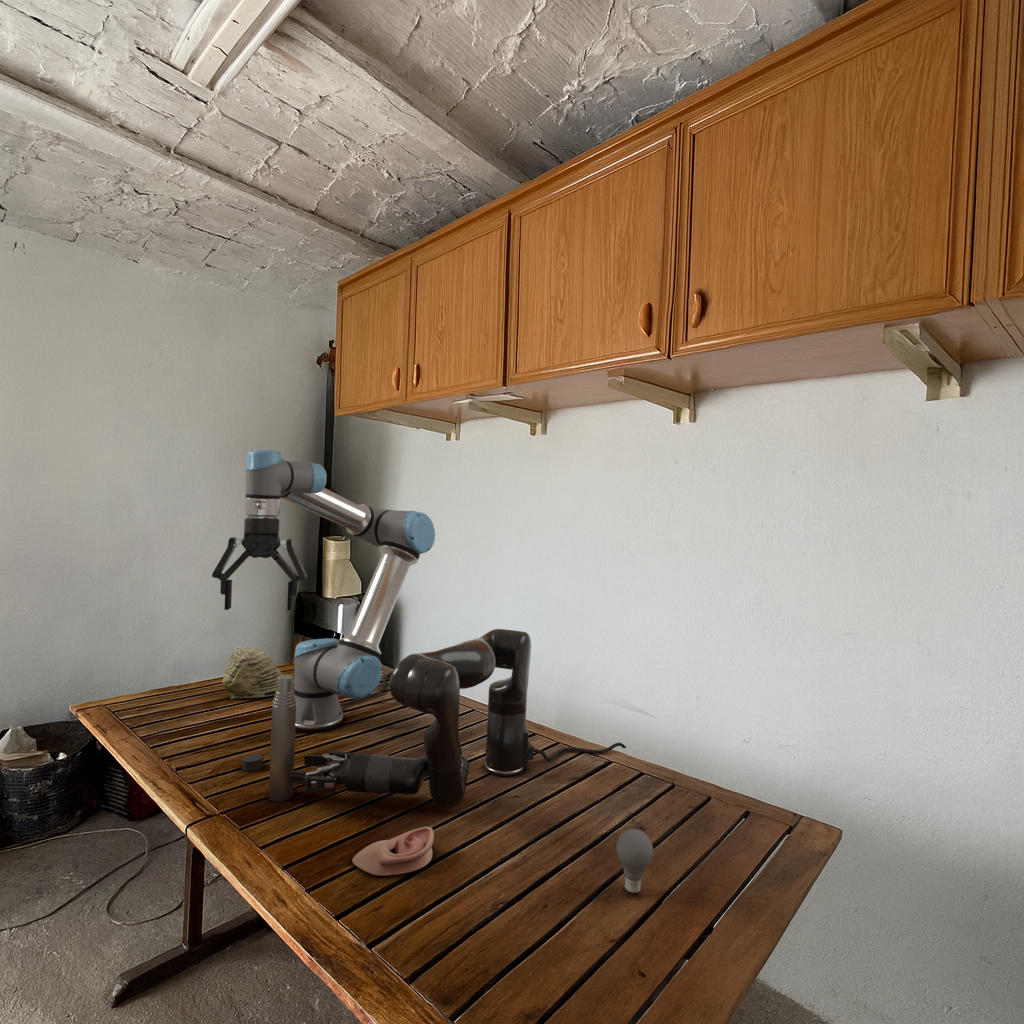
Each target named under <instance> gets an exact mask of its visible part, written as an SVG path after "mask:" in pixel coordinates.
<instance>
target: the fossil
mask: <svg viewBox="0 0 1024 1024" xmlns="http://www.w3.org/2000/svg"><path fill="white" fill-rule="evenodd" d="M280 675H283V673H282V672H281V669H279V668H278V667H277V665H276V663H275V662H274V660H273V659H272V658H271V657H270V656H269V655H268V654H267V653H266V652H265V650H264V649H263V648H260V647H258V648H251V647H247V646H246V647H245V646H238V647H237V648H236V649H235V650H233V651H232V653H231V656H230V657H229V659H228V660H227V663H226V666H225V668H224V671H223V675H222V676H223V677H222V685H223V687H224V688H225V690H226V691H228V693H229V698H230V699H250V698H264V697H271V696H275V694H276V691H277V677H278V676H280Z"/></svg>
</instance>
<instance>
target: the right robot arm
mask: <svg viewBox="0 0 1024 1024" xmlns="http://www.w3.org/2000/svg"><path fill="white" fill-rule="evenodd" d="M531 658H532V639H531V636H530V634H529V633H528V632H527V631H521V630H514V629H507V628H494V629H491V630H490V631H488V632H486V633H484V634H482V635H481V636H479V637H477V638H476V637H475V638H474V639H469V640H465V641H462V642H460V643H457V644H454V645H452V646H448V647H444V648H440V649H439V650H434V651H427V652H415V653H411V654H409V655H406V656H405V657H404V658H403V659H401V661H399V662H398V663H397V664H396V666H395V668H394V669H393V670H392V671H393V673H392V675H390V678H389V683H388V684H389V692H390V695H391V696H392V698H393V699H394V700H395V701H396V702H397V703H398V704H400V705H402V706H403V707H404V706H405V707H406V708H410V709H412V710H415V711H418V712H420V713H423V714H427V715H432V716H433V717H435V720H434V721H433V722H431V724H430V725H429V726H428V727H427V729H426V731H425V733H424V738H423V749H424V754H425V756H420V757H401V756H399V757H398V756H391V755H387V754H378V753H377V754H375V753H361V752H348V751H338V750H329V751H328V753H324V754H312V753H311V754H308V753H307V754H305V756H304V759H303V760H304V761H303V764H304V766H307V767H318V768H316V770H312V771H301V770H294V771H290V772H289V773H288V782H289V783H293V784H301V785H304V791H307V792H327V793H328V792H329V793H333V792H335V789H336V785H342V784H343V785H344V786H345V790H346V791H347V792H348V793H349V792H352V793H363V794H364V793H365V794H376V795H377V794H378V795H384V794H385V795H386V794H395V795H407V796H408V795H411V796H412V795H416V794H418V793H419V792H420V790H421V788H422V786H423V784H424V782H425V780H426V779H428V783H429V784H428V788H429V793H430V796H431V799H432V800H433V801H434V802H435V804H437V805H438V806H439V807H441V808H445V809H450V808H451V809H452V808H455V807H457V806H458V805H460V804H461V803H462V802H463V800H464V798H465V795H466V791H467V784H468V777H469V769H470V764H469V760H468V759H467V757H465V755H463V750H462V745H461V740H460V735H459V732H460V731H459V721H460V720H459V719H460V701H461V700H460V698H461V695H460V694H461V690H465V689H470V688H473V687H476V686H478V685H480V684H482V683H484V682H485V681H487V680H488V679H489V678H490V677H491V676H492V675H493V673H494V672H495V669H496V668H497V669H503V670H509V671H511V676H509V677H506V678H503V679H499V680H498V679H497V680H495V681H493V682H491V683H490V684H489V687H488V696H487V697H488V700H487V701H488V702H487V723H486V724H487V725H486V745H485V751H484V753H485V762H484V768H485V770H486V771H487V772H489V773H490V774H493V775H496V776H502V777H509V776H510V777H511V776H516V775H519V774H522V773H523V772H527V771H528V761H533V760H534V758H535V757H534V756H535V755H534V754H535V753H537V754H539V755H541V756H542V758H543V759H544V760H546V761H549V762H550V761H553V760H554V759H556V758H557V757H558V756H559V755H561V754H562V753H565V752H580V753H582V752H583V753H588V754H605V753H607V752H610V751H612V750H614V749H615V748H616V747H621V748H622V749H627V746H626V745H625V744H624V743H623V742H615V743H613V744H611V745H610V746H608V747H606V748H603V749H590V748H582V747H572V746H571V747H563V748H560V749H559V750H557V751H556V752H555V753H554V754H553V755H551V756H548V755H547V754H546V752H545V751H543V750H542V749H538V748H535V746H534V745H533V744H532V743H531V742H529V733H530V732H529V730H528V729H527V728H526V727H527V726H526V725H527V703H528V702H527V701H528V687H529V682H530V681H529V680H530V666H531Z"/></svg>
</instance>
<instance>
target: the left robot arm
mask: <svg viewBox="0 0 1024 1024" xmlns="http://www.w3.org/2000/svg"><path fill="white" fill-rule="evenodd" d="M245 464H246V465H245V499H244V515H245V516H247V517H245V519H244V522H243V524H244V526H243V532H244V533H243V537H242V538H238V537H236V536H233V537H232V536H231V537H229V539H228V542H227V547H226V549H225V551H224V552H223V554H222V556H221V558H220V560H219V561H218V563H217V565H216V566H215V568H214V570H213V572H212V574H211V577H212V578H214V579H218V580H219V581H220V595H224V611H229V610H230V609H232V593H233V579H229V578H230V577H231V576H232V575H233V574H234V573H235V572H236V571H237V570H238V569H239V568H240V566H241V565H243V563H245V561H246V560H247V559H248V558H249V557H251V558H254V559H258V558H262V559H269V558H271V559H272V560H273V561H275V563H276V564H277V565H278V566H279V567H280V568H281V570H282V571H283V573H285V574H286V576H287V577H288V578H289V579H290V580H289V581H288V583H287V585H288V586H287V604H286V605H287V608H286V609H287V611H289V612H290V611H292V610H293V607H294V604H293V603H294V597H295V596H296V597H297V595H298V593H299V582H300V581H302V580H305V579H306V578H307V577H308V574H307V573H306V570H305V568H304V566H303V564H302V562H301V560H300V558H299V556H298V553H297V551H296V550H295V546H294V545H295V544H294V539H293V538H287V539H281V538H280V524H281V523H280V522H281V521H280V519H279V518H278V517H280V516H281V499H282V500H285V501H286V502H289V503H291V504H293V505H294V506H296V507H297V506H298V507H300V508H302V509H304V510H305V511H308V512H310V513H312V514H315V515H317V516H319V517H321V518H323V519H326V520H328V521H330V522H332V523H334V524H337V525H338V526H341V527H343V528H345V529H346V531H347V532H348V534H350V535H351V536H354V537H356V538H358V539H360V540H362V541H364V542H366V543H369V544H370V545H373V546H375V547H378V549H379V552H380V554H381V555H380V558H379V561H378V563H377V565H376V568H375V570H374V573H373V575H372V577H371V579H370V582H369V585H368V587H367V589H366V592H365V594H364V597H363V599H362V601H361V603H360V606H359V608H358V610H357V613H356V615H355V618H354V620H353V622H352V625H351V628H350V630H349V632H348V633H347V634H346V636H344V637H343V636H342V637H341V638H340V639H337V638H331V637H329V638H317V639H316V638H315V639H308V640H304V641H300V642H299V643H298V644H297V645H296V646H295V650H294V651H295V652H294V655H293V658H294V672H293V678H294V679H293V690H294V693H295V699H296V728H295V732H301V733H316V732H325V731H329V730H332V729H335V728H337V727H339V726H340V725H342V723H343V722H344V713H343V709H342V707H346V706H350V705H353V704H356V703H359V702H362V701H364V700H365V701H366V700H368V699H371V698H374V697H375V698H376V697H378V696H379V695H381V694H382V693H383V692H384V691H385V689H386V686H387V685H386V683H387V682H386V681H387V678H388V677H391V675H392V673H393V671H394V670H392V671H390V672H387V673H386V674H385V675H384V676H383V669H382V668H383V664H382V662H381V661H380V657H381V655H382V652H381V649H380V646H379V645H380V643H381V640H382V637H383V635H384V632H385V630H386V627H387V625H388V622H389V620H390V618H391V615H392V612H393V610H394V607H395V605H396V603H397V600H398V597H399V595H400V592H401V589H402V587H403V584H404V582H405V580H406V577H407V575H408V572H409V570H410V568H411V566H413V565H415V564H417V563H418V561H419V559H420V556H421V555H423V554H425V553H427V552H429V551H430V550H431V549H432V548H433V546H434V544H435V539H436V530H435V529H436V528H435V527H434V522H433V521H432V519H431V517H430V516H429V515H427V514H426V513H424V512H421V511H416V510H395V509H383V508H376V507H372V506H369V505H367V504H366V503H359V504H358V503H355V502H354V501H351V500H349V499H348V498H346V497H344V496H342V495H340V494H338V493H336V492H334V491H332V490H330V489H328V488H326V485H327V477H328V476H327V471H326V469H325V468H324V466H323V465H321V464H320V463H315V462H312V461H308V462H305V461H294V460H293V461H290V460H285V459H283V454H282V452H281V451H280V450H279V451H278V450H272V449H271V450H270V449H251V450H249V451H248V452H247V457H246V463H245ZM240 545H242V547H243V548H244V551H243V552H242V553H241V554H240V556H239V557H237V559H236V560H235V561H234V562H233V563H232V564H231V565H230V566H229V567H228V568H227V570H226V571H224V569H225V567H226V565H227V564H228V563H229V561H230V559H231V558H232V556H233V553H234V552H235V550H236V548H239V546H240ZM281 546H282V547H283V549H285V550H286V551H287V554H288V556H289V558H290V560H291V563H292V564H293V566H294V568H295V570H296V572H297V573H296V572H295V571H294V570H293V568H292V567H291V566H290V565H289V563H287V561H286V560H285V559H284V558H283V556H282V555H281V553H280V552H279V551H278V549H279V548H280V547H281ZM223 571H224V573H223ZM382 677H383V678H382ZM381 680H382V686H381V689H379V690H378V691H377V692H374V691H375V690H376V689H377V688H378V686H379V685H380V682H381ZM373 692H374V693H373ZM339 696H341V697H343V698H345V699H352V700H348V701H345V702H342V703H341V702H340V699H339Z"/></svg>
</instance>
